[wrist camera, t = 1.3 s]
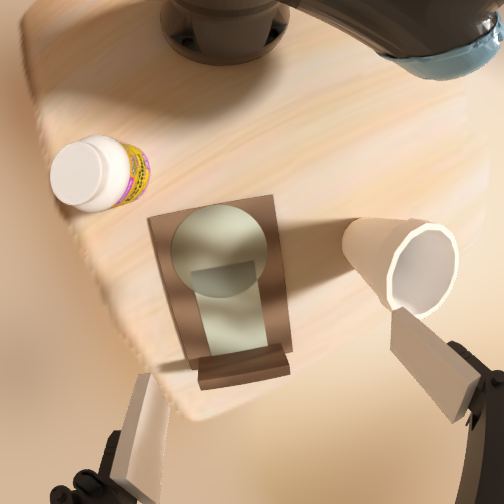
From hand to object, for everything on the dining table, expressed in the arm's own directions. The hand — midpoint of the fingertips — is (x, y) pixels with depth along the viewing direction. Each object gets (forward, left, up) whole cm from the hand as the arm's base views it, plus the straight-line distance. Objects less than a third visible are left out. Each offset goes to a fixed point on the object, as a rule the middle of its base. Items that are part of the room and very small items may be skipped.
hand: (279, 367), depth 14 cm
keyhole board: (+4, -3, -20) cm, 21 cm away
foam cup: (+1, +15, -21) cm, 26 cm away
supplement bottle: (-12, -12, -21) cm, 27 cm away
